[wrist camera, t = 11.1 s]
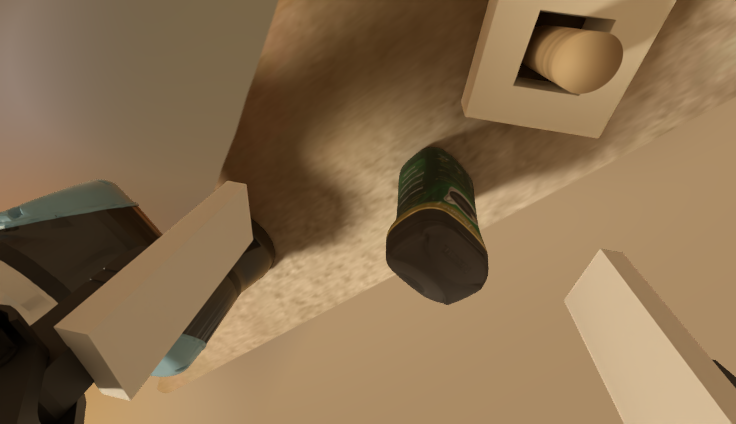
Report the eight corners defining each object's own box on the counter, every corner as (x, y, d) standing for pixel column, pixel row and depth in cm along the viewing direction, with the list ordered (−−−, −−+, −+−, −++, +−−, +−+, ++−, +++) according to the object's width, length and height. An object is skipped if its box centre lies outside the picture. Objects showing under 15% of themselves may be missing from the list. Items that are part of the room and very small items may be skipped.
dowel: (513, 65, 33) (548, 89, 23) (528, 22, 31) (574, 28, 21) (551, 71, 33) (603, 97, 23) (569, 27, 30) (636, 36, 21)
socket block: (460, 102, 36) (464, 116, 31) (500, -40, 29) (513, -51, 24) (575, 120, 35) (598, 138, 30) (647, -23, 27) (693, -30, 23)
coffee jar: (390, 173, 43) (365, 264, 28) (434, 135, 39) (433, 216, 23) (436, 217, 45) (437, 322, 30) (482, 185, 41) (509, 289, 26)
